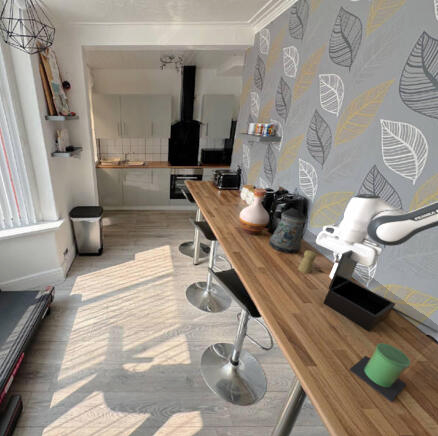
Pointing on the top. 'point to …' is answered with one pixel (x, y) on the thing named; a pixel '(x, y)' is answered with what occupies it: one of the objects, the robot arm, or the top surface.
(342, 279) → the bin lid
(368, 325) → the bin
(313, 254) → the cork
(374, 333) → the top surface
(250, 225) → the white vase
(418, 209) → the robot arm
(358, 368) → the mat
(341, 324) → the top surface
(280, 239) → the beer stein
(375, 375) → the pot
